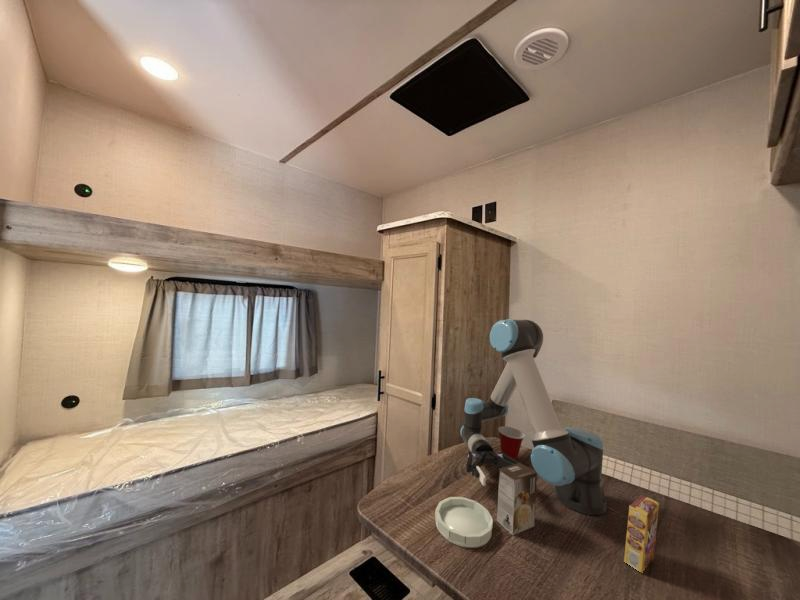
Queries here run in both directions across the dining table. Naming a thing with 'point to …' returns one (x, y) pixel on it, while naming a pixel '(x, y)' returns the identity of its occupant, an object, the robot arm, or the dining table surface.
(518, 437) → the plastic cup
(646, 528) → the candy box
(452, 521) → the round dish
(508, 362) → the robot arm
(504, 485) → the coffee box
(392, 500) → the dining table surface
